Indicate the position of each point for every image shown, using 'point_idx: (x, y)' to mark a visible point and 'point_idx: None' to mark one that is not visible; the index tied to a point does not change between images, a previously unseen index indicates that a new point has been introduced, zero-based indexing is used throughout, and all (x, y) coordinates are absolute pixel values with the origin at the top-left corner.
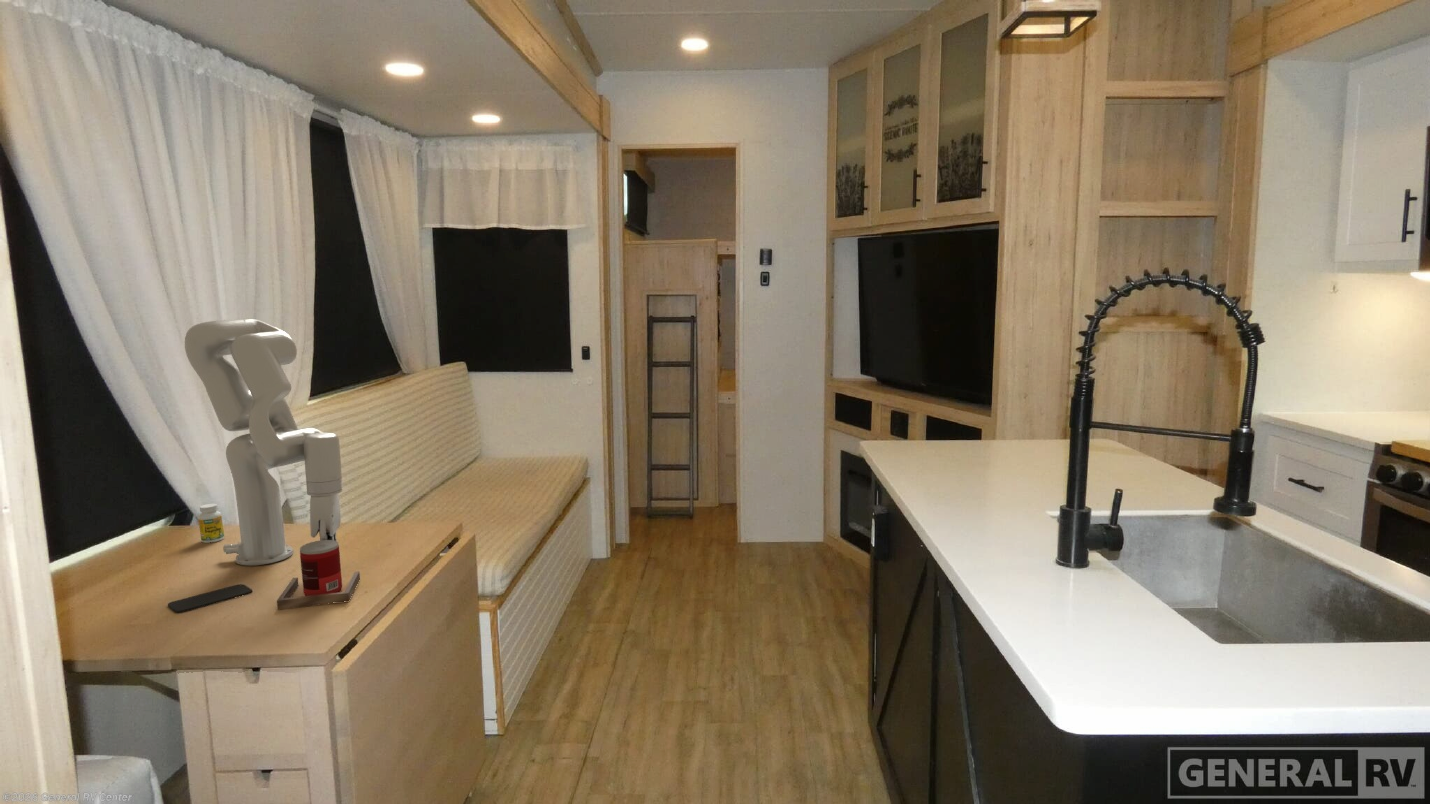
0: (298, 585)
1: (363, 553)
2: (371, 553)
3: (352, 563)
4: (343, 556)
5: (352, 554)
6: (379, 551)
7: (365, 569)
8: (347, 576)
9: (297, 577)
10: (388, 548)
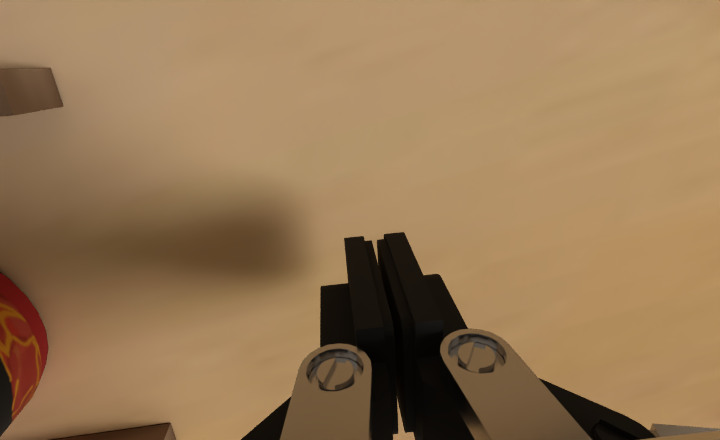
0: (56, 107)
1: (642, 329)
2: (619, 369)
3: (479, 324)
4: (643, 232)
5: (656, 275)
6: (634, 396)
7: None
8: (243, 365)
9: (13, 112)
10: (662, 422)
